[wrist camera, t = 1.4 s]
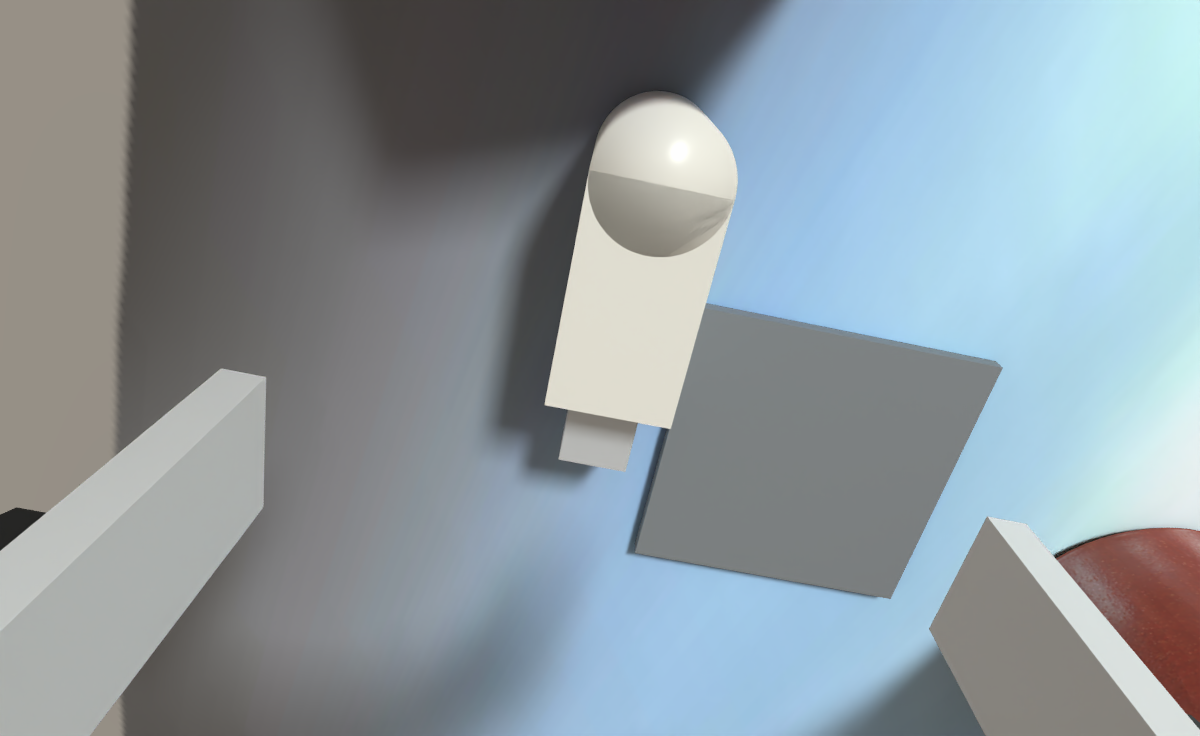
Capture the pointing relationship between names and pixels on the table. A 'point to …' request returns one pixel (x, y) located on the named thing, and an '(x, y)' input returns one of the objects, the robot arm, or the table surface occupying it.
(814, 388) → the coaster
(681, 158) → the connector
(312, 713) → the table surface
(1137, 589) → the flower pot
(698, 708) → the table surface
